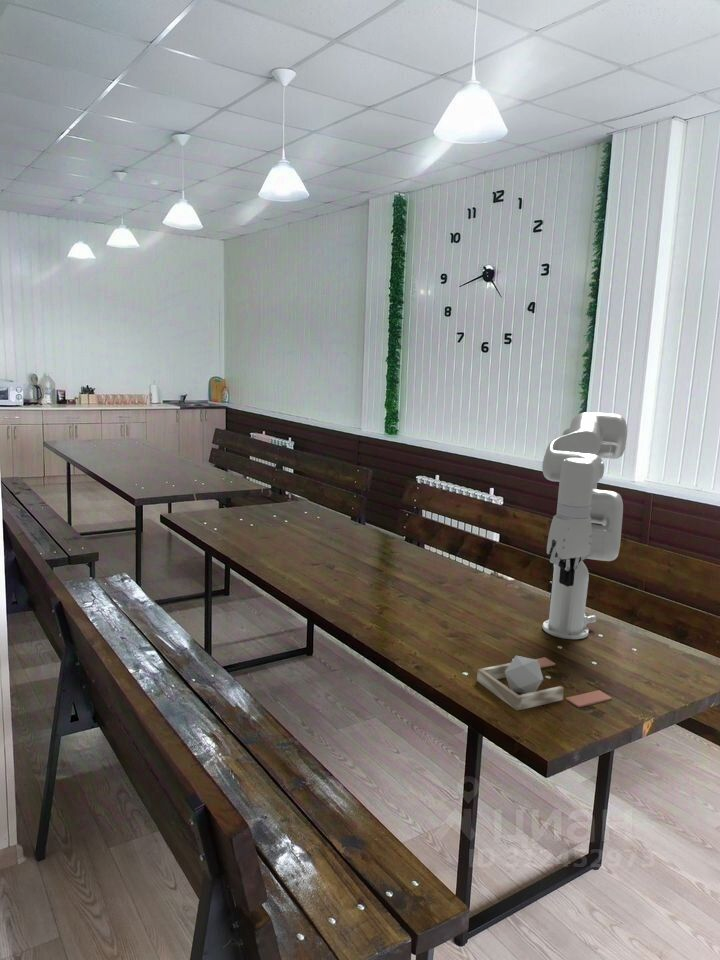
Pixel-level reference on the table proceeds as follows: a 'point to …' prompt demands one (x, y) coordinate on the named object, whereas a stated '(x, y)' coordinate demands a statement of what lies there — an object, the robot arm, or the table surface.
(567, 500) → the robot arm
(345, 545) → the table surface
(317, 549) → the table surface
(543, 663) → the mat
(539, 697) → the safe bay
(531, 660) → the die
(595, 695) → the mat
